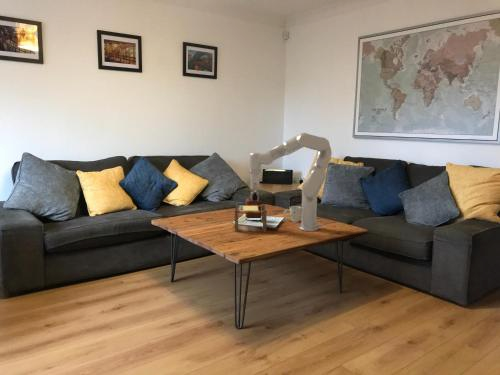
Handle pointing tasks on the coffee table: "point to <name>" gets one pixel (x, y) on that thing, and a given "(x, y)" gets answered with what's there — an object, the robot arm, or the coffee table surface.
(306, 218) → the robot arm
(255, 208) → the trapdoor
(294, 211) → the mug
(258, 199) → the stone
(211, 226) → the coffee table surface
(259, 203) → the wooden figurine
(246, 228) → the frame
